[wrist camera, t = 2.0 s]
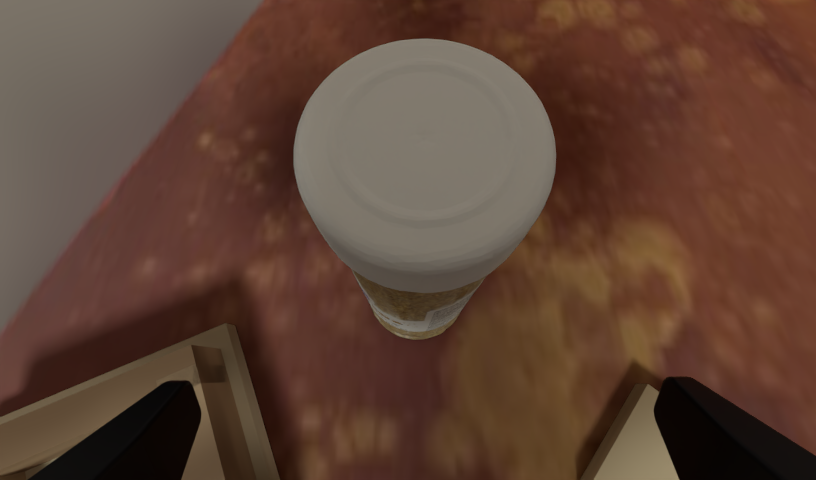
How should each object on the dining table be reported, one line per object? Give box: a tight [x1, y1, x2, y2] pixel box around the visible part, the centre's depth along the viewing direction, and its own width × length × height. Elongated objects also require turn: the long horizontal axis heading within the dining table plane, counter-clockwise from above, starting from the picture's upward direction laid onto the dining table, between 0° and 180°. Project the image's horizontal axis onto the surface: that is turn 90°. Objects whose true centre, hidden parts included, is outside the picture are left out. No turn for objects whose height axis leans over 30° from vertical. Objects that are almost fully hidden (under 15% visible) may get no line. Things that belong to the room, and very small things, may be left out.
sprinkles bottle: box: [294, 39, 556, 340], centre depth 13 cm, size 5×5×13 cm
